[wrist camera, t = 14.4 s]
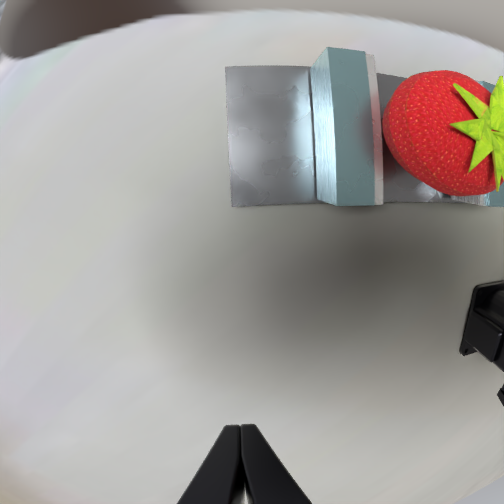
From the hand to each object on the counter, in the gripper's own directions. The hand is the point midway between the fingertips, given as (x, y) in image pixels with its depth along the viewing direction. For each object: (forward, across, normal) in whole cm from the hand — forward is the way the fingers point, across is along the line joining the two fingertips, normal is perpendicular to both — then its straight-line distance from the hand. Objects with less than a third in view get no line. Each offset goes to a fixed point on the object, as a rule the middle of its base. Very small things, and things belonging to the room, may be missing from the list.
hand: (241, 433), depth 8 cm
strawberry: (+11, -10, -9) cm, 18 cm away
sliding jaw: (+11, -6, -9) cm, 15 cm away
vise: (+12, -8, -9) cm, 17 cm away
